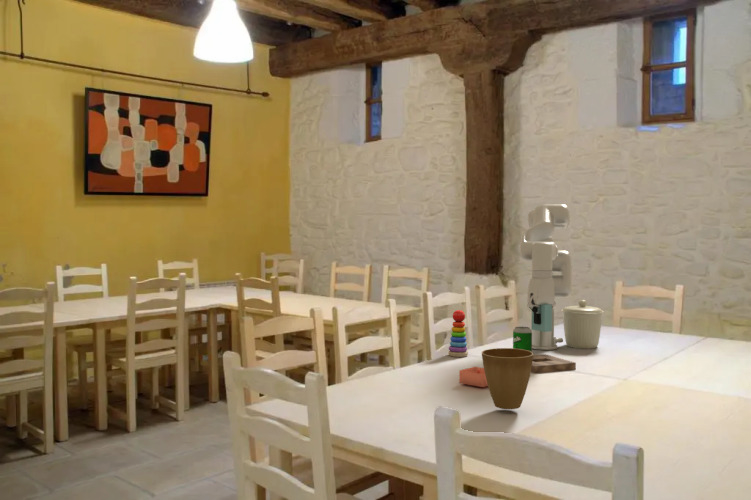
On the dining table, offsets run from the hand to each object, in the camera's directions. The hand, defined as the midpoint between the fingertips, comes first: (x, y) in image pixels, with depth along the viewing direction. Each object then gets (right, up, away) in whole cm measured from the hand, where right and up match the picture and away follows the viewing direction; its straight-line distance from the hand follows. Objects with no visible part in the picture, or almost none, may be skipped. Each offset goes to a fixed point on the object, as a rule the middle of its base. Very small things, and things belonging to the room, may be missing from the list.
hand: (541, 323), depth 259 cm
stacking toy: (-29, -16, +22) cm, 40 cm away
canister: (+28, -16, +42) cm, 53 cm away
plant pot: (-24, -19, -57) cm, 65 cm away
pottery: (-25, -18, -23) cm, 38 cm away
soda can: (-3, -16, +20) cm, 26 cm away
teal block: (0, -3, 0) cm, 3 cm away
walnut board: (0, -17, +1) cm, 17 cm away
